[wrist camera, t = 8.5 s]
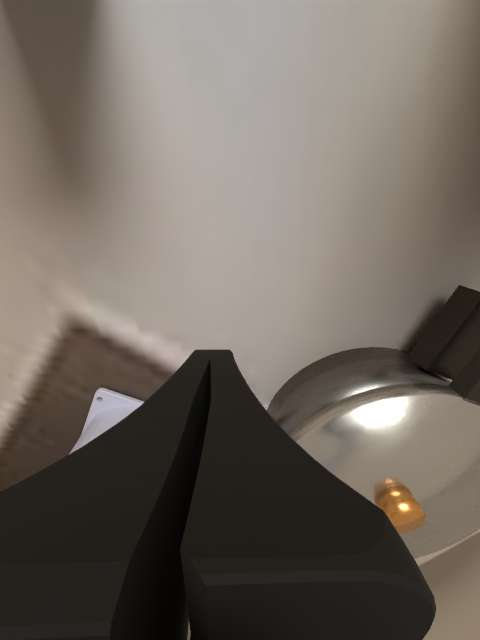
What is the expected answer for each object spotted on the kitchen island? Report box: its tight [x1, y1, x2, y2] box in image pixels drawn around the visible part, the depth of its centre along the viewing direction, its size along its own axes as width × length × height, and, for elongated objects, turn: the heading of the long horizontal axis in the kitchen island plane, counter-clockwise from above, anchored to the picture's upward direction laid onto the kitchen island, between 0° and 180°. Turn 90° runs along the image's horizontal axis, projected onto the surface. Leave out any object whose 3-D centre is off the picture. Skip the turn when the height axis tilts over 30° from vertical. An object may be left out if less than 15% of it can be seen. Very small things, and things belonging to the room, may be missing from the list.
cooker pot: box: [267, 285, 480, 435], centre depth 21 cm, size 24×18×5 cm
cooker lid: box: [289, 349, 480, 559], centre depth 17 cm, size 25×18×3 cm
